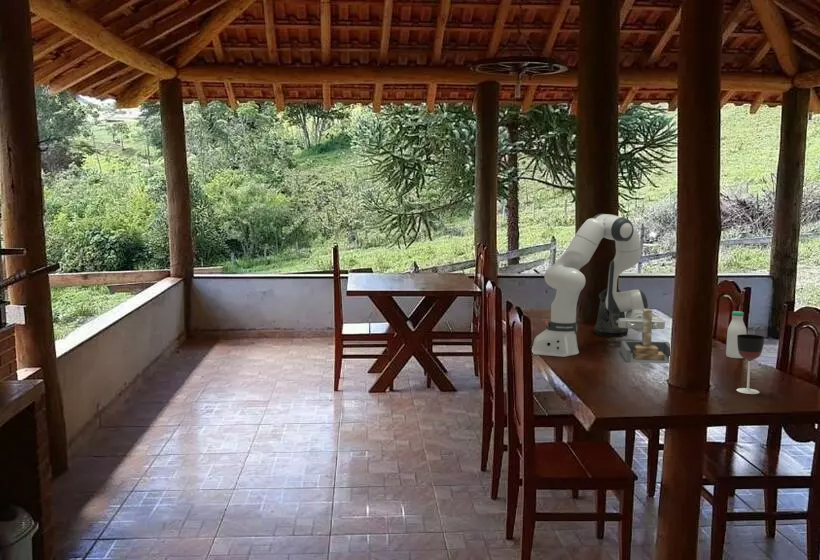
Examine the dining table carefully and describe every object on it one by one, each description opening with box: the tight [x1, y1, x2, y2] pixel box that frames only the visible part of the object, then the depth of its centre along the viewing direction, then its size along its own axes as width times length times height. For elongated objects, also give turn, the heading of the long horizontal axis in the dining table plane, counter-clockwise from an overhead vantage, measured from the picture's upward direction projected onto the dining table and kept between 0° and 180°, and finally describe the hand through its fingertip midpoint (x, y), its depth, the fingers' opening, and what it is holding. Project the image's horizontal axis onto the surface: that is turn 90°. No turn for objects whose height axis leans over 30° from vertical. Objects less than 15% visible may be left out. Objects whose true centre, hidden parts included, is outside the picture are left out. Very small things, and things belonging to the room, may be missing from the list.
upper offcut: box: [634, 346, 658, 354], centre depth 295 cm, size 9×5×2 cm, turn 80°
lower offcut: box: [633, 351, 665, 360], centre depth 295 cm, size 12×6×2 cm, turn 80°
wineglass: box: [736, 334, 765, 395], centre depth 249 cm, size 8×9×20 cm
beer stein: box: [594, 285, 629, 338], centre depth 351 cm, size 16×19×25 cm
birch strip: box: [641, 308, 653, 346], centre depth 300 cm, size 3×5×20 cm, turn 170°
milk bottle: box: [725, 310, 748, 359], centre depth 302 cm, size 8×8×20 cm
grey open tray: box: [620, 340, 671, 364], centre depth 296 cm, size 20×20×6 cm
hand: (643, 326), depth 308 cm, fingers open, 8 cm apart
